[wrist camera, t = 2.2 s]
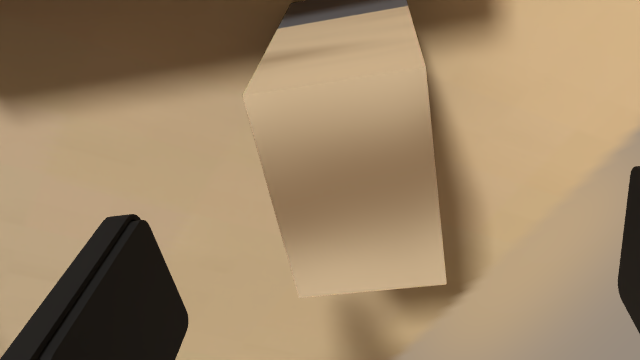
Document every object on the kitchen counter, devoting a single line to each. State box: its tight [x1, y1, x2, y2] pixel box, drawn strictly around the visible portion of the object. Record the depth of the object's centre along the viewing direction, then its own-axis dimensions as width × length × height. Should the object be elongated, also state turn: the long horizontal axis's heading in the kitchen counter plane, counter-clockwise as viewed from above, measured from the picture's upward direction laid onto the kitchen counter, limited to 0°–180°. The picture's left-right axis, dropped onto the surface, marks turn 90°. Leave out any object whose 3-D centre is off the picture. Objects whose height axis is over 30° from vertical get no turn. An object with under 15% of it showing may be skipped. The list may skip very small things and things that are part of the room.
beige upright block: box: [242, 0, 447, 298], centre depth 17 cm, size 6×4×9 cm, turn 11°
